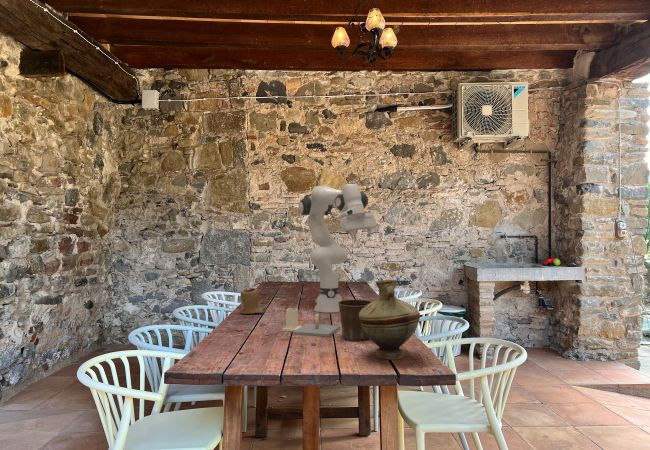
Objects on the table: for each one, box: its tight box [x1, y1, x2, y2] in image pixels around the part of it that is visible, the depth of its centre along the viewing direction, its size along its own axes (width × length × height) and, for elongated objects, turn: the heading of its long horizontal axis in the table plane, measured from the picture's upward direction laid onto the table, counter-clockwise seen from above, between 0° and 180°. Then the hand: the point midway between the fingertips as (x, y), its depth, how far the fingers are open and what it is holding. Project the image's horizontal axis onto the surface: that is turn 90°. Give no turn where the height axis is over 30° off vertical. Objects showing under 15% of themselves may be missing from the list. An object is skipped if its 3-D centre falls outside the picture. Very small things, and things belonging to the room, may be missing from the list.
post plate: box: [292, 313, 341, 338], centre depth 210 cm, size 18×18×8 cm
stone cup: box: [239, 287, 267, 315], centre depth 255 cm, size 15×12×15 cm
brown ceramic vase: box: [359, 279, 421, 361], centre depth 168 cm, size 24×24×30 cm
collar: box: [281, 307, 303, 332], centre depth 214 cm, size 8×8×10 cm
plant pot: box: [338, 299, 373, 342], centre depth 197 cm, size 16×16×16 cm
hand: (361, 237), depth 222 cm, fingers open, 8 cm apart
